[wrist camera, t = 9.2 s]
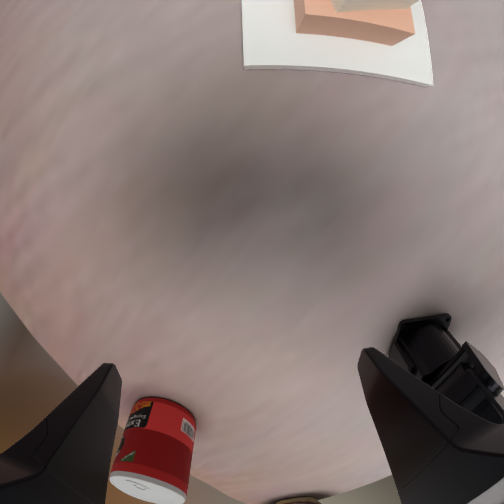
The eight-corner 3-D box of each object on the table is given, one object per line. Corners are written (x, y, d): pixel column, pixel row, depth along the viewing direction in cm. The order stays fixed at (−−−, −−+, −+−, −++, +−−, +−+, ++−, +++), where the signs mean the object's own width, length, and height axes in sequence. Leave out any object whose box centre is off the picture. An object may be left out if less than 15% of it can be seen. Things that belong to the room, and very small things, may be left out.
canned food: (141, 386, 28) (114, 468, 18) (207, 413, 30) (197, 496, 19) (127, 416, 31) (104, 485, 20) (184, 439, 32) (172, 509, 22)
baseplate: (409, -14, 13) (416, -19, 12) (425, 87, 17) (433, 85, 16) (240, -38, 13) (240, -45, 12) (244, 69, 17) (243, 65, 16)
